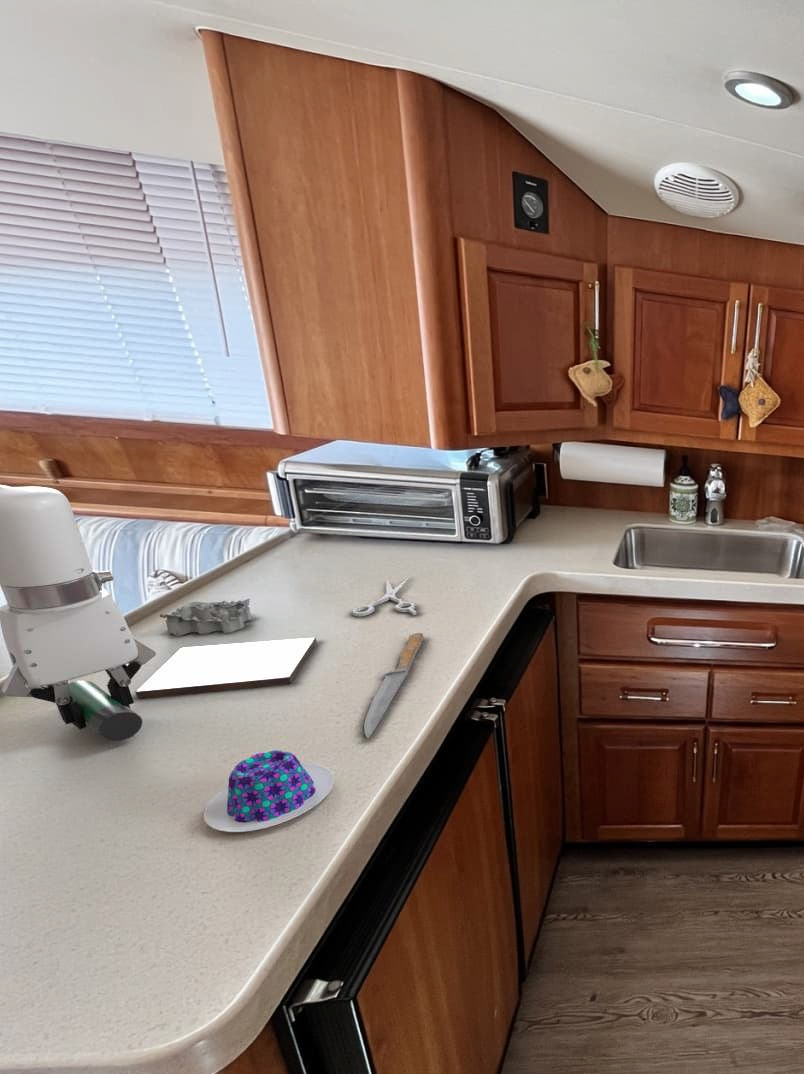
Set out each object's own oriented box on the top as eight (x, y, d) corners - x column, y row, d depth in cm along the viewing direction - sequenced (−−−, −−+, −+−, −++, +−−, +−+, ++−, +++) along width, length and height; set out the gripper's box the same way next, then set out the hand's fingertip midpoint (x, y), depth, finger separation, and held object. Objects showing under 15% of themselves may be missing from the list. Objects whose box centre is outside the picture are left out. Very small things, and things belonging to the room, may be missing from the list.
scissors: (349, 616, 117) (368, 577, 134) (350, 620, 118) (369, 581, 134) (415, 611, 121) (426, 574, 138) (416, 615, 122) (426, 577, 138)
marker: (61, 707, 86) (47, 684, 84) (100, 693, 89) (87, 670, 87) (107, 747, 80) (93, 722, 78) (147, 730, 83) (134, 706, 81)
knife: (403, 634, 112) (422, 632, 113) (405, 639, 112) (424, 638, 113) (350, 737, 85) (376, 734, 86) (352, 744, 86) (377, 741, 87)
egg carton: (162, 637, 107) (154, 615, 105) (187, 618, 113) (180, 597, 112) (238, 633, 110) (232, 612, 108) (258, 615, 116) (252, 595, 115)
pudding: (317, 755, 82) (308, 721, 80) (350, 800, 76) (341, 764, 74) (194, 799, 74) (181, 763, 72) (219, 854, 67) (205, 815, 65)
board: (137, 699, 91) (135, 691, 90) (183, 654, 102) (181, 647, 102) (291, 684, 97) (289, 677, 97) (317, 643, 109) (315, 637, 108)
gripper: (132, 566, 85) (170, 683, 92) (-66, 602, 72) (-4, 737, 79) (157, 579, 82) (194, 700, 89) (-45, 620, 69) (18, 759, 76)
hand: (101, 716), depth 84 cm, fingers closed on marker, 3 cm apart
